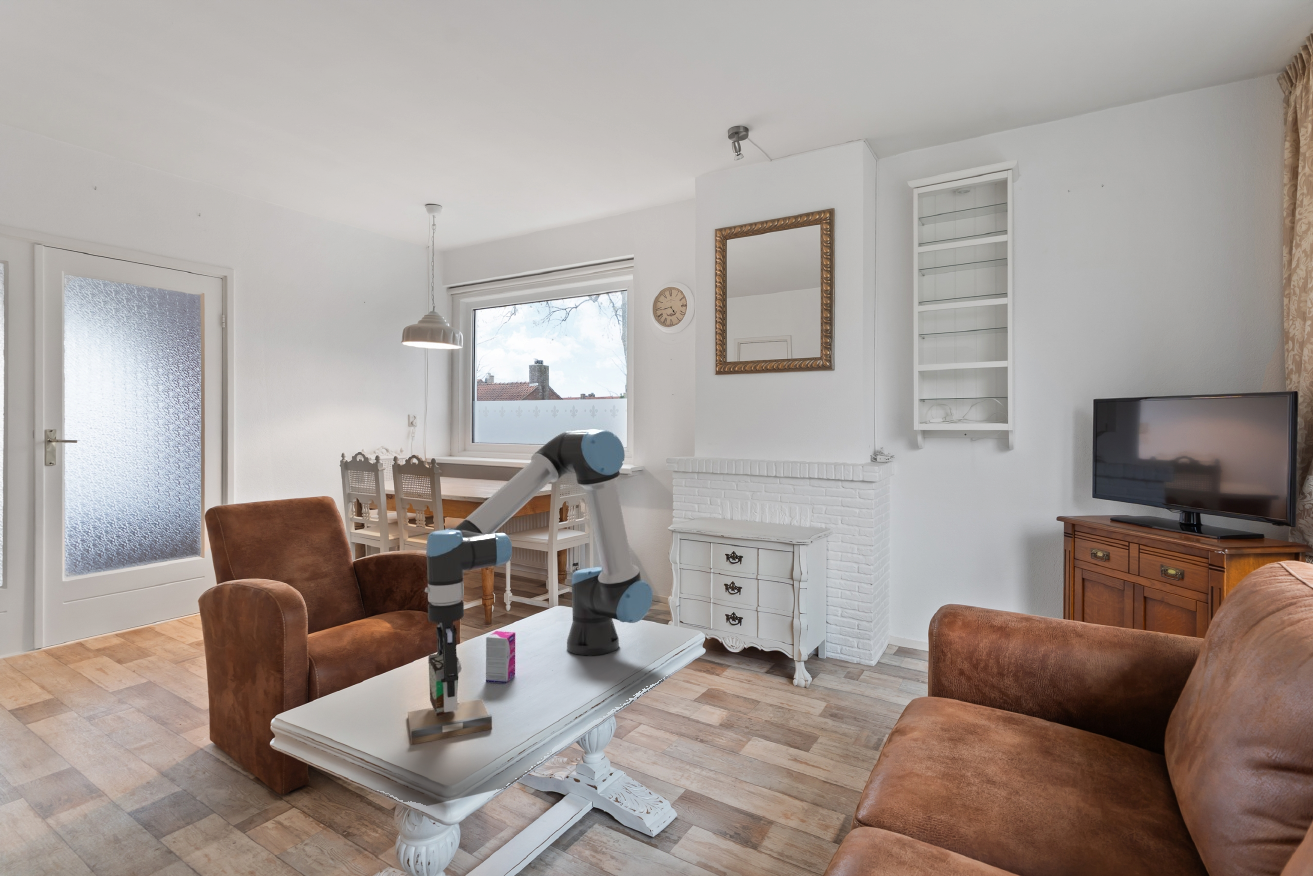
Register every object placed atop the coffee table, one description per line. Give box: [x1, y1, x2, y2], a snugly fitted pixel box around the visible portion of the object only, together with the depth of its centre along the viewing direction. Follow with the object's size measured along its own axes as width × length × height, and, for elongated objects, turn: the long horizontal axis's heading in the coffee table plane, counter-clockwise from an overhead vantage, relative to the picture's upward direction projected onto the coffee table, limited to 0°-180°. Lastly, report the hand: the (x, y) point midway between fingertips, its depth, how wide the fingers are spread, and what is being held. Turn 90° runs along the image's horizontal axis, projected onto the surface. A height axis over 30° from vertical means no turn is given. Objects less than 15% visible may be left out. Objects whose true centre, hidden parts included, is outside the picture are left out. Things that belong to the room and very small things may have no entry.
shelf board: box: [407, 698, 493, 745], centre depth 140 cm, size 16×14×3 cm
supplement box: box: [485, 630, 516, 684], centre depth 165 cm, size 6×6×12 cm
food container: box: [428, 653, 462, 716], centre depth 143 cm, size 12×6×10 cm, turn 27°
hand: (447, 700), depth 143 cm, fingers closed on food container, 11 cm apart
